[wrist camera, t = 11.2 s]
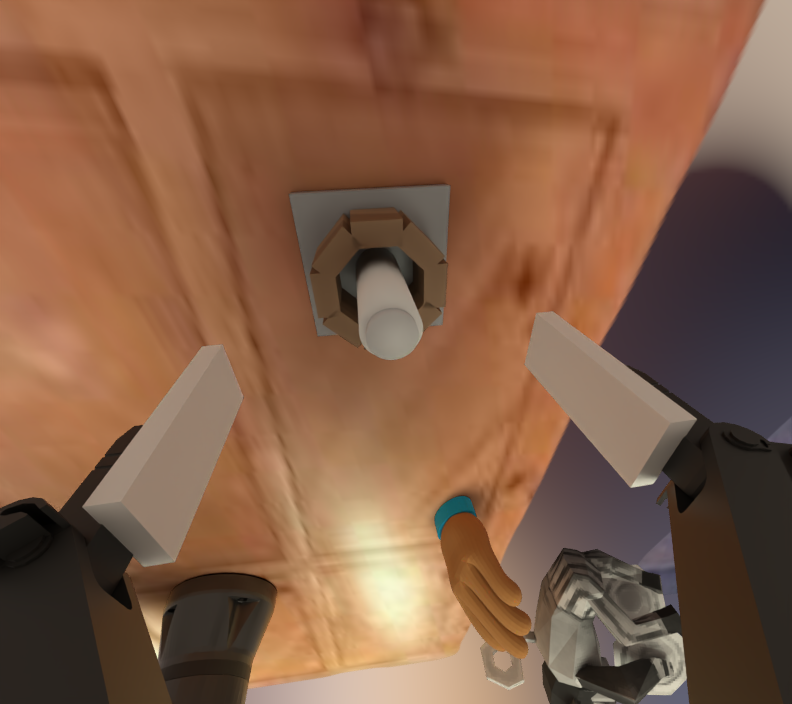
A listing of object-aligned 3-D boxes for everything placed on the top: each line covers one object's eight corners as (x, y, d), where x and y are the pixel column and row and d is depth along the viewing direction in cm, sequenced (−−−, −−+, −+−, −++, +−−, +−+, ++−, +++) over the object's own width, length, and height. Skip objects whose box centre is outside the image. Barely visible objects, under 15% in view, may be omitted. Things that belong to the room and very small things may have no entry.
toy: (668, 545, 58) (616, 668, 64) (500, 493, 64) (465, 610, 69) (779, 677, 37) (687, 841, 43) (515, 582, 43) (465, 738, 49)
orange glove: (465, 538, 48) (505, 675, 35) (422, 538, 46) (449, 682, 34) (495, 492, 42) (558, 637, 29) (448, 491, 40) (492, 644, 28)
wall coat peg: (318, 330, 25) (302, 428, 16) (291, 192, 19) (243, 228, 11) (439, 319, 26) (486, 406, 17) (446, 184, 20) (519, 210, 12)
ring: (328, 324, 24) (325, 353, 20) (308, 212, 19) (299, 225, 16) (430, 315, 24) (443, 341, 21) (433, 204, 20) (450, 215, 17)
